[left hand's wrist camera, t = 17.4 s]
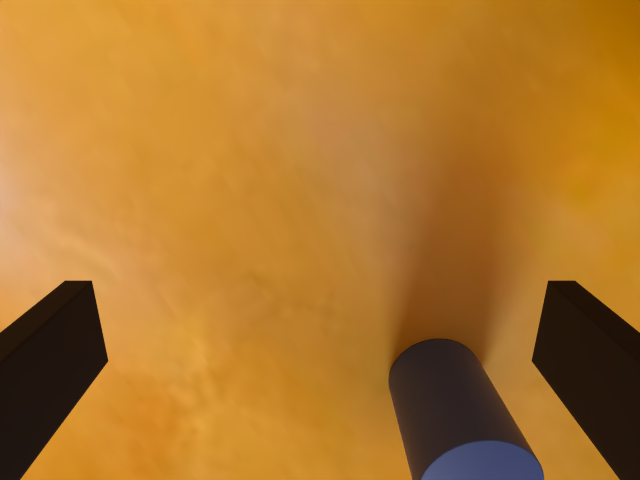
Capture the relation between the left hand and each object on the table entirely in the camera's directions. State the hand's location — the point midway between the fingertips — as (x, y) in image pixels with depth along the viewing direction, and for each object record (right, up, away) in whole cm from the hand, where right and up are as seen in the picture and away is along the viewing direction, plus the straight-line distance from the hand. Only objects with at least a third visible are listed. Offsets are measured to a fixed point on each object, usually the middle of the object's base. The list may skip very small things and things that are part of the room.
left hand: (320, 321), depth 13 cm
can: (+10, -9, +24) cm, 28 cm away
